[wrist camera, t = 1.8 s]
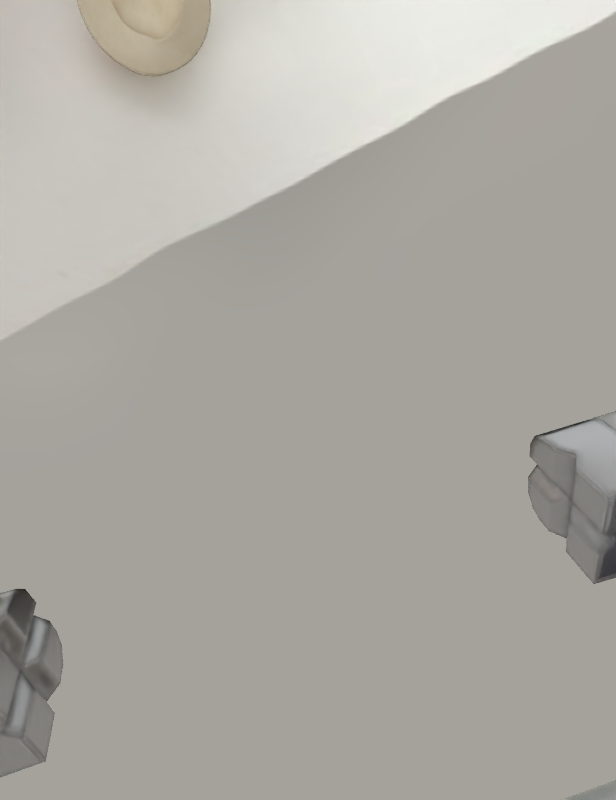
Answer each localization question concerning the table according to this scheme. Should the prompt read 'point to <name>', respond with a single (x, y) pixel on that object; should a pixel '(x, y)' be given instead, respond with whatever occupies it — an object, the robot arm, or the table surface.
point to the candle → (148, 31)
